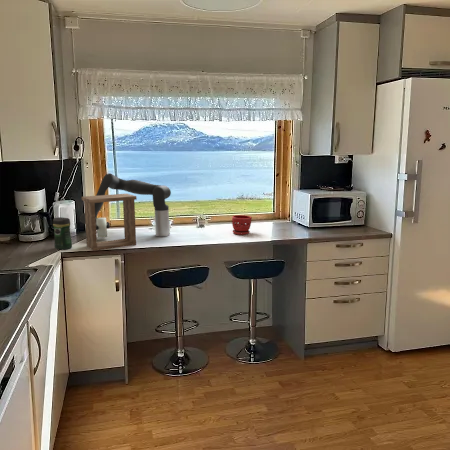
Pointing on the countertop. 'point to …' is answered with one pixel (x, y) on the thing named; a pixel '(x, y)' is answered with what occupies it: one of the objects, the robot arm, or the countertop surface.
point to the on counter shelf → (128, 221)
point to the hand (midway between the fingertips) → (103, 227)
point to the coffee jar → (62, 233)
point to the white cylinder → (101, 227)
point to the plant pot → (241, 224)
